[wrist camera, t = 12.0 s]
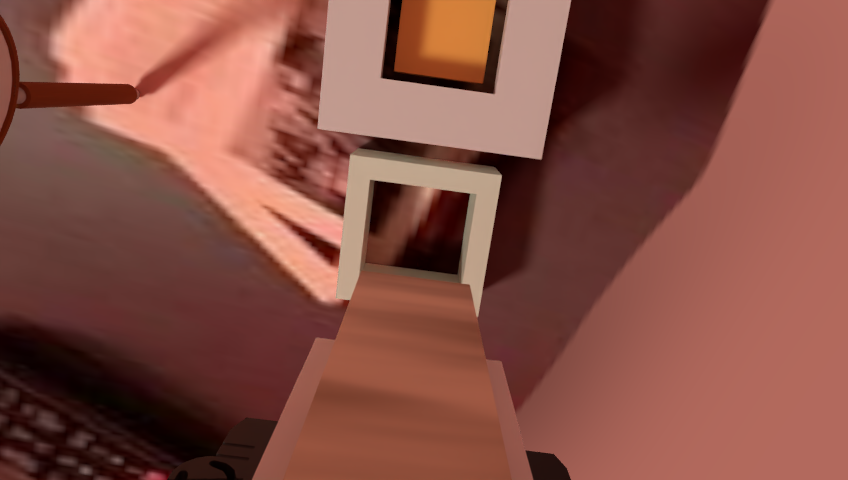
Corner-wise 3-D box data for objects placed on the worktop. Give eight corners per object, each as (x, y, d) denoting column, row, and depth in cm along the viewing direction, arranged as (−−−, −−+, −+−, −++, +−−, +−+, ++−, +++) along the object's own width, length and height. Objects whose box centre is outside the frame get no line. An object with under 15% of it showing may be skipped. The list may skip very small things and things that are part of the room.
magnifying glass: (137, 21, 36) (-208, -61, 16) (164, 31, 36) (-146, -39, 16) (108, 153, 38) (-229, 218, 18) (134, 162, 38) (-174, 236, 19)
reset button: (478, 84, 35) (483, 83, 32) (396, 72, 35) (394, 71, 32) (491, -4, 34) (497, -13, 31) (407, -16, 34) (405, -26, 31)
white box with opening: (520, 147, 37) (541, 159, 31) (337, 121, 37) (317, 128, 30) (556, -53, 34) (587, -89, 28) (357, -83, 34) (339, -126, 27)
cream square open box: (473, 294, 40) (477, 316, 36) (344, 277, 40) (335, 298, 36) (494, 166, 38) (501, 175, 34) (358, 148, 38) (350, 154, 34)
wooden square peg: (453, 382, 22) (528, 1236, 6) (350, 369, 22) (116, 1200, 6) (469, 284, 21) (617, 973, 5) (361, 270, 21) (118, 921, 5)
